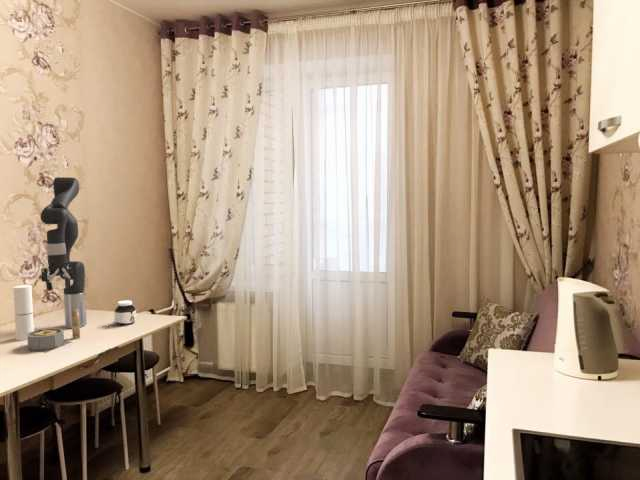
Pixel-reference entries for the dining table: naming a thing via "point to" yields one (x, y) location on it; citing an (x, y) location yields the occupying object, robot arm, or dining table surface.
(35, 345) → the grey octagonal bowl
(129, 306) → the spread jar
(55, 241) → the robot arm
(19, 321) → the cylindrical container
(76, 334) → the wick
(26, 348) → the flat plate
